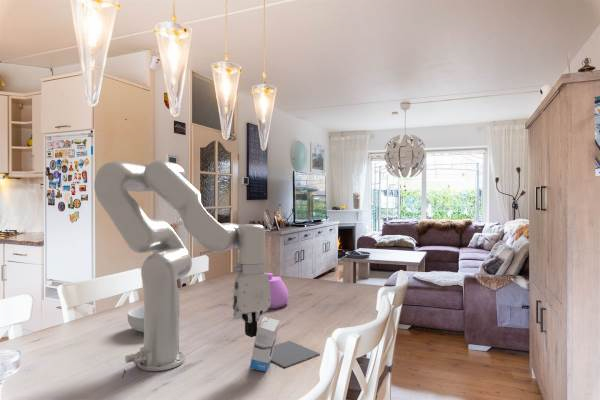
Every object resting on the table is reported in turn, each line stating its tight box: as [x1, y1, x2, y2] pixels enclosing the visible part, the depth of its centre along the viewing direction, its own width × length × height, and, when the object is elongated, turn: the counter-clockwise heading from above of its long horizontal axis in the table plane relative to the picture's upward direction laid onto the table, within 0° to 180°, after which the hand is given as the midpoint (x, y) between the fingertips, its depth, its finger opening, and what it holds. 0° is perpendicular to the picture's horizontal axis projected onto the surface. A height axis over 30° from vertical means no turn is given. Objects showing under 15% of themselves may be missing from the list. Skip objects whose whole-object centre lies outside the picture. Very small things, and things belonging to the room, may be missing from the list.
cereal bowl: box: [127, 305, 144, 334], centre depth 137 cm, size 17×17×7 cm
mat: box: [271, 340, 321, 368], centre depth 117 cm, size 14×14×1 cm
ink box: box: [249, 316, 281, 373], centre depth 109 cm, size 8×5×12 cm, turn 172°
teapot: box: [266, 272, 290, 310], centre depth 172 cm, size 25×18×14 cm
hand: (251, 335), depth 107 cm, fingers closed
